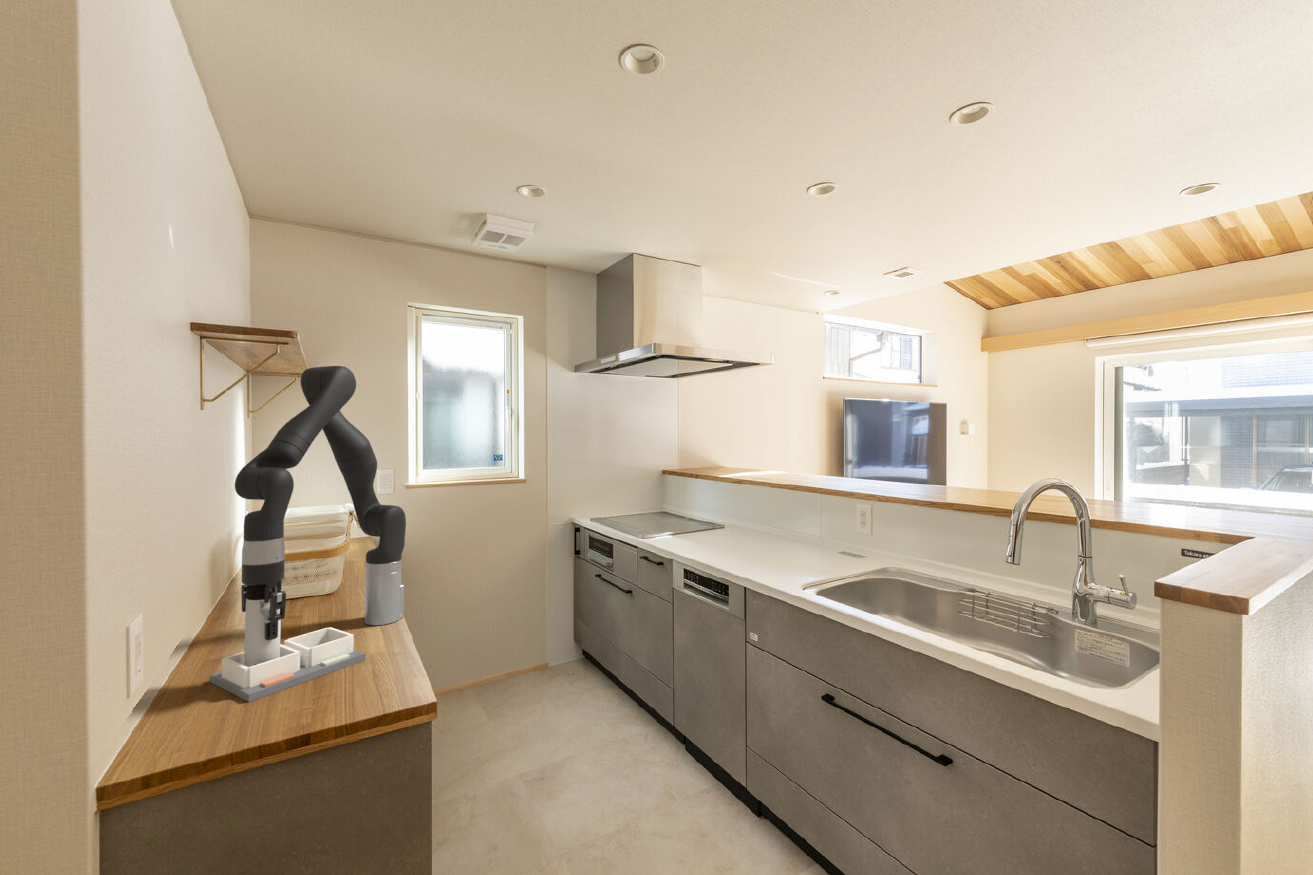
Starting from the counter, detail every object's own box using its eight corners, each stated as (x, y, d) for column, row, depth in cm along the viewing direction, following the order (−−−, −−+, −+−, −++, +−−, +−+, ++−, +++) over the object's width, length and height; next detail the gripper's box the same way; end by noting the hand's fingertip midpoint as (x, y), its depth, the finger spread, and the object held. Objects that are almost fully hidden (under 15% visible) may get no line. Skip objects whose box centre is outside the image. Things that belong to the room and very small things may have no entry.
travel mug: (261, 681, 113) (264, 585, 113) (236, 677, 114) (238, 583, 114) (287, 669, 119) (290, 578, 119) (263, 666, 120) (265, 576, 120)
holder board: (324, 645, 136) (325, 623, 136) (365, 659, 128) (365, 636, 128) (209, 681, 115) (210, 656, 115) (249, 702, 107) (249, 674, 107)
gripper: (300, 560, 116) (299, 636, 116) (266, 552, 123) (265, 624, 123) (260, 567, 110) (259, 648, 110) (227, 558, 117) (226, 634, 117)
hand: (262, 635), depth 116 cm, fingers open, 7 cm apart
